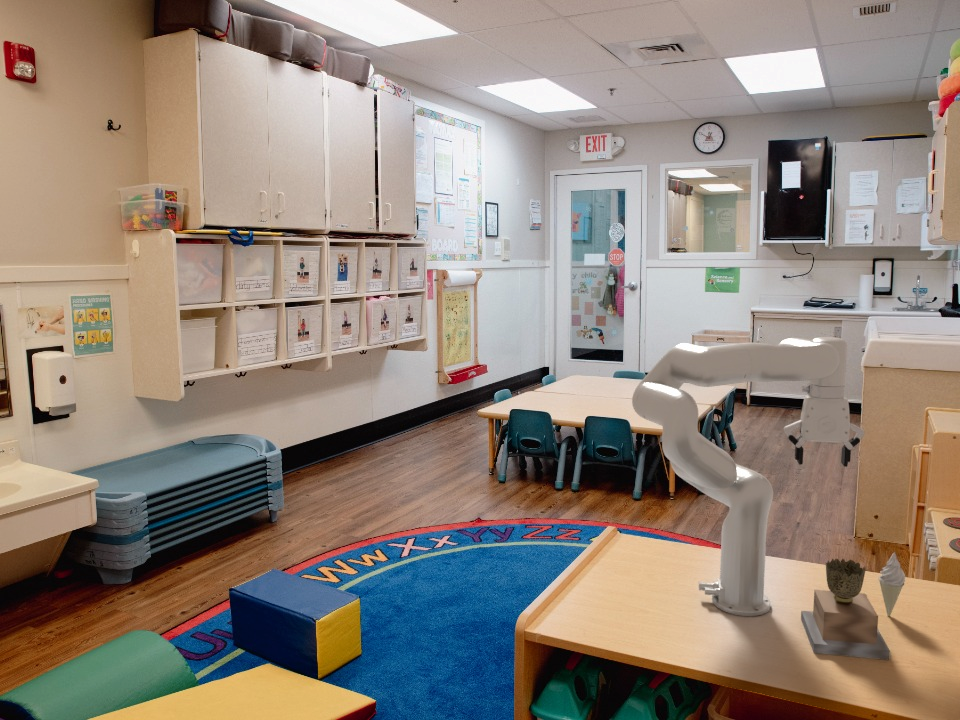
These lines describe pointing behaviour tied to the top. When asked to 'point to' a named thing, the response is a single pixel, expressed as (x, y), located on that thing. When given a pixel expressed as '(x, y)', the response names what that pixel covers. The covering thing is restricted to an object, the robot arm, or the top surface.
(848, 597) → the cup
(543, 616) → the top surface
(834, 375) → the robot arm
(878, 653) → the brown block on base
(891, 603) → the ice cream cone
